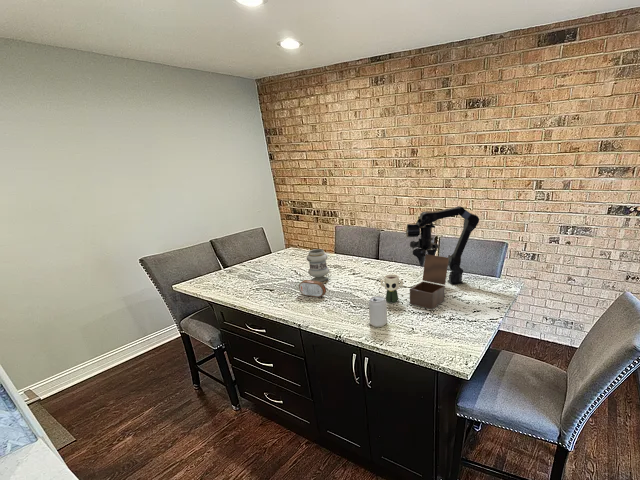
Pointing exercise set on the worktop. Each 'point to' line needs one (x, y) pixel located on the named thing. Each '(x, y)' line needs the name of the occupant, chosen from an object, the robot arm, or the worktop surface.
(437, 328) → the worktop surface
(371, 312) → the can
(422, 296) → the box
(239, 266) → the worktop surface
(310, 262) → the apothecary jar
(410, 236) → the robot arm
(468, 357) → the worktop surface
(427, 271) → the chest lid
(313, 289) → the tin
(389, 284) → the character mug
